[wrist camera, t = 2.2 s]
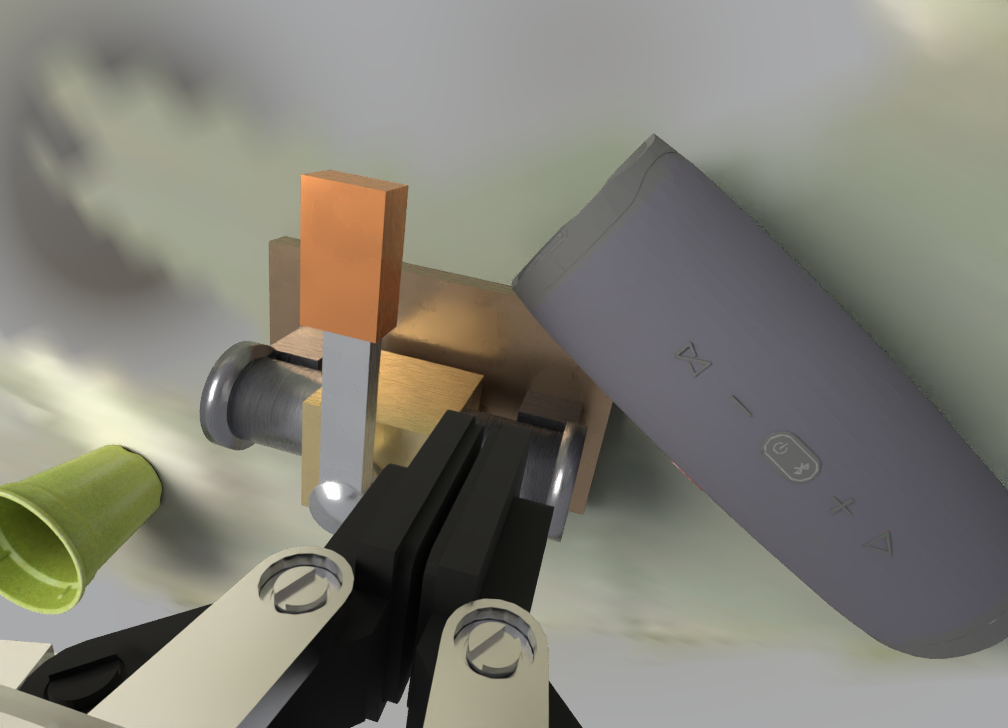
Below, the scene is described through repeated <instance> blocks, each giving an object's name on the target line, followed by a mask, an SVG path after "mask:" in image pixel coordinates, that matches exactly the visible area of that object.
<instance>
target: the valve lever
mask: <svg viewBox="0 0 1008 728" xmlns="http://www.w3.org/2000/svg"><path fill="white" fill-rule="evenodd" d="M407 196H408V185H404V184H399V183H394V182H389V181H384V180H379V179H373V178H368V177H363V176H358V175H353V174H348V173H343V172H338V171H333V170H326V171H320V172H314V173H307V174H301V242H300V325H302V326H306V327H311V328H315V329H319V330H323V361H322V400H321V438H320V477H319V484H318V485H317V486H316V487H315V488H314V489H313V491H312V492H311V494H310V496H309V509H310V512H311V514H312V516H313V518H314V519H315V521H316V522H317V523H318V524H319V525H320V526H321V527H322V528H323V529H325V530H326V531H328V532H330V533H332V534H335V533H336V531H337V530H338V529H339V527H340V526H341V525H342V523H343V522H344V521H345V519H346V518H347V517H348V515H349V514H350V513H351V511H352V510H353V509H354V507H355V506H356V505H357V503H358V502H359V501H360V499H361V498H362V497H363V495H364V494H365V493H366V491H367V490H368V489H369V487H370V486H371V485H372V483H373V481H372V469H373V455H374V441H375V427H376V413H377V399H378V385H379V371H380V357H381V343H382V338H383V337H384V336H385V335H387V334H388V333H389V332H390V331H392V330H393V329H394V328H395V327H397V318H398V306H399V294H400V281H401V269H402V257H403V245H404V233H405V221H406V208H407Z"/></svg>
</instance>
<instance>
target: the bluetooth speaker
mask: <svg viewBox="0 0 1008 728" xmlns="http://www.w3.org/2000/svg"><path fill="white" fill-rule="evenodd" d="M511 286H512V289H513V291H514V292H515V293H516V295H517V296H518V297H519V298H520V300H521V301H522V302H523V304H524V305H525V306H526V308H527V309H528V310H529V312H530V313H531V314H532V315H533V316H534V318H535V319H536V320H537V321H538V322H539V323H540V325H541V326H542V327H543V328H544V329H545V330H546V332H547V333H548V334H549V335H550V336H551V337H552V338H553V339H554V340H555V341H556V342H557V344H558V345H559V346H560V347H561V348H562V349H563V350H564V351H565V352H566V353H567V354H568V355H569V356H570V357H571V358H572V359H573V360H574V361H575V362H576V363H577V365H578V366H579V367H580V368H581V369H582V370H583V371H584V372H585V373H586V374H587V375H588V376H589V377H590V378H591V379H592V380H593V381H594V382H595V383H596V384H597V386H598V387H599V388H600V389H601V390H602V391H603V392H604V393H605V394H606V395H607V396H608V397H609V398H610V399H611V400H612V401H613V402H614V403H615V404H616V405H617V406H618V407H619V408H620V409H621V410H622V411H623V412H624V413H625V414H626V415H627V416H628V417H629V418H630V419H631V420H632V421H633V422H634V423H635V424H636V425H637V426H638V427H639V428H640V429H641V430H642V431H643V432H644V433H645V434H646V435H647V436H648V437H649V438H650V439H651V440H652V441H653V442H654V443H655V444H656V445H657V446H658V447H659V448H660V449H661V450H662V451H663V452H664V453H665V454H666V455H667V456H668V457H669V458H670V460H671V461H672V463H673V464H674V465H675V466H677V468H678V469H680V470H681V471H682V472H683V473H684V474H685V475H686V476H688V478H689V479H690V480H692V481H693V482H694V483H695V484H696V485H697V486H698V487H699V488H700V489H701V490H703V491H704V492H705V493H706V494H707V495H708V496H709V497H710V498H711V499H712V500H714V501H715V502H716V503H717V504H718V505H719V506H720V507H721V508H722V509H723V510H724V511H725V512H726V513H727V514H728V515H729V516H731V517H732V518H733V519H734V520H735V521H736V522H737V523H738V524H739V525H740V526H741V527H743V528H744V529H745V530H746V531H747V532H748V533H749V534H750V535H751V536H752V537H753V538H755V539H756V540H757V541H758V542H759V543H760V544H761V545H762V546H763V547H764V548H765V549H767V550H768V551H769V552H770V553H771V554H772V555H773V556H774V557H776V558H777V559H778V560H779V561H780V562H781V563H782V564H784V565H785V566H786V567H787V568H788V569H789V570H790V571H791V572H793V573H794V574H795V575H796V576H797V577H798V578H799V579H801V580H802V581H803V582H804V583H805V584H806V585H807V586H809V587H810V588H811V589H812V590H813V591H814V592H815V593H816V594H818V595H819V596H820V597H821V598H822V599H823V600H824V601H826V602H827V603H828V604H829V605H830V606H831V607H833V608H834V609H835V610H836V611H838V612H839V613H840V614H842V615H843V616H844V617H845V618H847V619H848V620H849V621H850V622H852V623H853V624H855V625H856V626H857V627H859V628H860V629H862V630H863V631H865V632H866V633H867V634H868V635H870V636H871V637H873V638H874V639H876V640H877V641H879V642H881V643H883V644H884V645H886V646H888V647H890V648H892V649H895V650H897V651H900V652H904V653H907V654H910V655H913V656H916V657H923V658H929V659H946V658H953V657H959V656H964V655H968V654H972V653H975V652H978V651H981V650H983V649H986V648H989V647H991V646H993V645H995V644H997V643H999V642H1001V641H1002V640H1004V639H1005V638H1007V637H1008V491H1007V490H1006V488H1005V487H1004V486H1003V485H1002V484H1001V482H1000V481H999V480H998V479H997V478H996V476H995V475H994V474H993V473H992V472H991V471H990V470H989V468H988V467H987V466H986V465H985V464H984V463H983V461H982V460H981V459H980V458H979V457H978V456H977V455H976V453H975V452H974V451H973V450H972V449H971V448H970V446H969V445H968V444H967V443H966V442H965V441H964V440H963V438H962V437H961V436H960V435H959V434H958V433H957V431H956V430H955V429H954V428H953V427H952V426H951V425H950V423H949V422H948V421H947V420H946V419H945V418H944V416H943V415H942V414H941V413H940V412H939V411H938V410H937V409H936V407H935V406H934V405H933V404H932V403H931V402H930V401H929V400H928V399H927V398H926V397H925V395H924V394H923V393H922V392H921V391H920V390H919V389H918V388H917V387H916V386H915V384H914V383H913V382H912V381H911V380H910V379H909V378H908V377H907V376H906V375H905V374H904V372H903V371H902V370H901V369H900V368H899V367H898V366H897V365H896V364H895V363H894V361H893V360H892V359H891V358H890V357H889V356H888V355H887V354H886V353H885V352H884V351H883V350H882V349H881V348H880V346H879V345H878V344H877V343H876V342H875V341H874V340H873V339H872V338H871V337H870V336H869V335H868V334H867V333H866V332H865V331H864V330H863V329H862V328H861V327H860V326H859V325H858V324H857V322H856V321H855V320H854V319H853V318H852V317H851V316H850V315H849V314H848V313H847V312H846V311H845V310H844V309H843V308H842V307H841V306H840V305H839V304H838V303H837V302H836V301H835V300H834V299H833V298H832V297H831V296H830V295H829V294H828V293H827V292H826V291H825V290H824V289H823V288H822V287H821V286H820V285H819V284H818V283H817V282H816V281H815V280H814V279H813V278H812V277H811V276H810V275H809V274H808V273H807V272H806V271H805V270H804V269H803V268H802V267H801V266H800V265H799V264H798V263H797V262H796V261H795V260H794V259H793V258H792V257H791V256H790V255H789V254H788V253H787V252H786V251H785V250H784V249H783V248H782V247H781V246H780V245H779V244H778V243H776V242H775V241H774V240H773V239H772V238H771V237H770V236H769V235H768V234H767V233H766V232H765V231H764V230H763V229H762V228H761V227H760V226H759V225H758V224H757V223H756V222H754V221H753V220H752V219H751V218H750V217H749V216H748V215H747V214H746V213H745V212H744V211H743V210H742V209H741V208H740V207H739V206H738V205H737V204H736V203H735V202H734V201H732V200H731V199H730V198H729V197H728V196H727V195H726V194H725V193H724V192H723V191H722V190H721V189H720V188H719V187H718V186H717V185H716V184H715V183H713V182H712V181H711V180H710V179H709V178H708V177H707V176H706V175H705V174H704V173H702V172H701V171H700V170H699V169H698V168H697V167H696V166H695V165H694V164H692V163H691V162H690V161H688V160H687V159H686V158H685V157H683V156H682V155H681V154H679V153H678V152H677V151H676V150H675V149H673V148H672V147H671V146H669V145H668V144H667V143H665V142H664V141H663V140H662V139H660V138H659V137H658V136H656V135H655V134H652V135H651V136H650V137H649V138H648V139H647V140H646V141H645V142H644V143H643V144H642V145H641V146H640V147H639V148H638V149H637V150H636V151H635V152H634V153H633V154H632V155H631V156H630V157H629V158H628V159H627V160H626V161H625V162H624V163H623V164H622V165H621V166H620V167H619V168H618V169H617V170H616V171H615V173H614V174H613V175H612V176H611V177H610V178H609V179H608V181H607V182H606V184H605V185H604V187H603V188H602V190H601V191H600V192H599V193H598V194H597V195H596V196H595V197H594V198H593V199H592V200H591V201H590V202H589V203H588V204H587V205H586V206H585V207H584V209H583V210H582V211H581V212H580V213H579V214H578V215H577V216H576V217H575V218H573V219H572V220H571V221H570V222H568V223H567V224H566V225H564V226H563V227H562V228H561V229H560V230H559V231H558V232H557V233H556V234H555V235H554V236H553V237H552V238H551V239H550V240H549V241H548V242H547V243H546V245H545V246H544V247H543V248H542V249H541V250H540V251H539V252H538V253H537V254H536V255H535V256H534V257H533V258H532V260H531V261H530V262H529V263H528V264H527V265H526V266H525V267H524V268H523V269H522V270H521V272H520V273H519V274H518V275H517V276H516V277H515V278H514V280H513V281H512V285H511Z"/></svg>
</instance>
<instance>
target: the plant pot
mask: <svg viewBox="0 0 1008 728" xmlns="http://www.w3.org/2000/svg"><path fill="white" fill-rule="evenodd" d="M161 493H162V486H161V482H160V480H159V477H158V476H157V474H156V472H155V471H154V469H153V468H152V466H151V465H150V464H149V463H148V462H147V461H146V460H145V459H144V458H143V457H142V456H140V455H138V454H134V453H131V452H128V451H126V450H125V449H123V448H122V446H119V445H107V446H104V447H101V448H99V449H96V450H94V451H91V452H89V453H87V454H84V455H82V456H80V457H77V458H75V459H73V460H70V461H68V462H65V463H63V464H61V465H58V466H56V467H53V468H51V469H49V470H46V471H44V472H41V473H39V474H36V475H34V476H32V477H29V478H27V479H24V480H22V481H19V482H17V483H16V482H14V483H7V484H4V485H1V486H0V594H1V595H2V596H3V597H5V598H6V599H8V600H10V601H11V602H13V603H15V604H17V605H19V606H21V607H23V608H25V609H28V610H31V611H34V612H38V613H43V614H61V613H64V612H66V611H69V610H70V609H72V608H73V607H74V606H75V605H76V604H77V603H78V602H79V601H80V600H81V598H82V596H83V594H84V591H85V587H86V586H87V585H88V584H89V583H90V582H91V581H92V580H93V578H94V576H95V574H96V572H97V570H98V569H99V568H100V567H101V566H102V565H103V564H104V563H105V562H106V561H107V560H108V559H109V558H110V557H111V556H112V555H113V554H114V553H115V552H116V551H117V550H118V549H119V548H120V547H121V546H122V545H123V544H124V543H125V542H126V541H127V540H128V539H129V538H130V537H131V536H132V535H133V534H134V533H135V531H136V530H137V529H138V528H139V527H140V526H141V525H142V524H143V523H144V522H145V521H146V520H147V519H148V518H149V517H150V516H151V515H152V514H153V513H154V512H155V511H156V510H157V509H158V508H159V506H160V504H161V503H160V497H161Z"/></svg>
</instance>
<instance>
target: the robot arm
mask: <svg viewBox="0 0 1008 728" xmlns="http://www.w3.org/2000/svg"><path fill="white" fill-rule="evenodd" d="M483 436H484V426H483V425H479V424H476V416H473V415H469V414H465V413H461V412H457V411H453V410H447V411H446V412H445V414H444V415H443V416H442V418H441V419H440V421H439V422H438V424H437V425H436V427H435V428H434V430H433V431H432V432H431V434H430V435H429V437H428V438H427V440H426V441H425V443H424V444H423V446H422V447H421V449H420V450H419V451H418V453H417V454H416V456H415V457H414V459H413V460H412V462H411V463H410V465H409V466H408V467H403V466H400V465H396V464H392V463H390V464H388V465H387V466H386V467H385V468H384V469H383V470H382V471H381V473H380V474H379V475H378V477H377V478H376V479H375V481H374V482H373V483H372V485H371V486H370V487H369V489H368V490H367V491H366V493H365V494H364V495H363V497H362V498H361V499H360V501H359V502H358V503H357V505H356V506H355V507H354V509H353V510H352V511H351V513H350V514H349V515H348V517H347V518H346V519H345V521H344V522H343V523H342V525H341V526H340V527H339V529H338V530H337V531H336V533H335V534H334V535H333V537H332V538H331V539H330V541H329V542H328V543H327V545H326V546H325V547H324V548H322V547H316V546H300V547H294V548H288V549H285V550H282V551H280V552H277V553H275V554H272V555H271V556H269V557H268V558H266V559H265V560H263V561H262V562H260V563H259V564H258V565H257V566H256V567H255V568H253V569H252V570H251V571H250V572H249V573H248V574H247V575H245V576H244V577H243V578H242V579H241V580H240V581H239V582H237V583H236V584H235V585H234V586H233V587H232V588H231V589H229V590H228V591H227V592H226V593H225V594H224V595H223V596H221V597H220V598H219V599H218V600H217V601H216V602H215V603H213V604H209V605H206V606H203V607H199V608H196V609H192V610H189V611H186V612H182V613H179V614H175V615H172V616H169V617H165V618H162V619H158V620H155V621H152V622H148V623H145V624H141V625H138V626H135V627H132V628H128V629H124V630H121V631H118V632H114V633H111V634H107V635H104V636H101V637H97V638H94V639H90V640H87V641H85V642H82V643H79V644H77V645H74V646H72V647H69V648H66V649H64V650H63V651H61V652H59V653H54V650H53V646H52V644H46V643H35V642H23V641H12V640H0V728H351V727H353V726H355V725H357V724H360V723H362V722H364V721H365V719H369V720H372V721H375V722H378V720H379V718H380V716H381V714H382V712H383V709H384V707H385V705H386V702H387V701H390V702H393V703H396V704H397V703H398V702H399V701H400V699H401V697H402V694H403V692H404V690H405V687H406V685H407V683H408V680H409V678H410V684H409V692H408V700H407V707H408V708H409V709H408V716H407V725H406V728H582V726H581V725H580V724H579V722H578V721H577V719H576V718H575V717H574V715H573V714H572V712H571V711H570V710H569V708H568V707H567V705H566V704H565V703H564V701H563V700H562V698H561V697H560V696H559V694H558V693H557V692H556V690H555V689H554V687H553V686H552V684H551V683H550V682H549V649H548V643H547V638H546V635H545V633H544V631H543V629H542V627H541V625H540V624H539V622H538V621H537V620H536V619H535V618H534V617H533V616H532V615H531V614H530V610H531V606H532V602H533V597H534V593H535V589H536V585H537V580H538V576H539V572H540V567H541V563H542V559H543V554H544V550H545V546H546V542H547V537H548V533H549V529H550V524H551V520H552V516H553V512H554V506H550V505H546V504H542V503H539V502H535V501H531V500H527V499H524V498H520V497H519V496H520V491H521V486H522V481H523V476H524V471H525V466H526V461H527V456H528V451H529V447H530V442H531V436H532V430H529V429H525V428H521V427H517V426H513V425H509V424H504V425H503V427H502V429H501V430H499V429H495V428H492V429H491V431H490V433H489V435H488V437H487V439H486V441H485V443H484V445H483V447H482V442H483ZM481 448H482V449H481Z"/></svg>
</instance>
